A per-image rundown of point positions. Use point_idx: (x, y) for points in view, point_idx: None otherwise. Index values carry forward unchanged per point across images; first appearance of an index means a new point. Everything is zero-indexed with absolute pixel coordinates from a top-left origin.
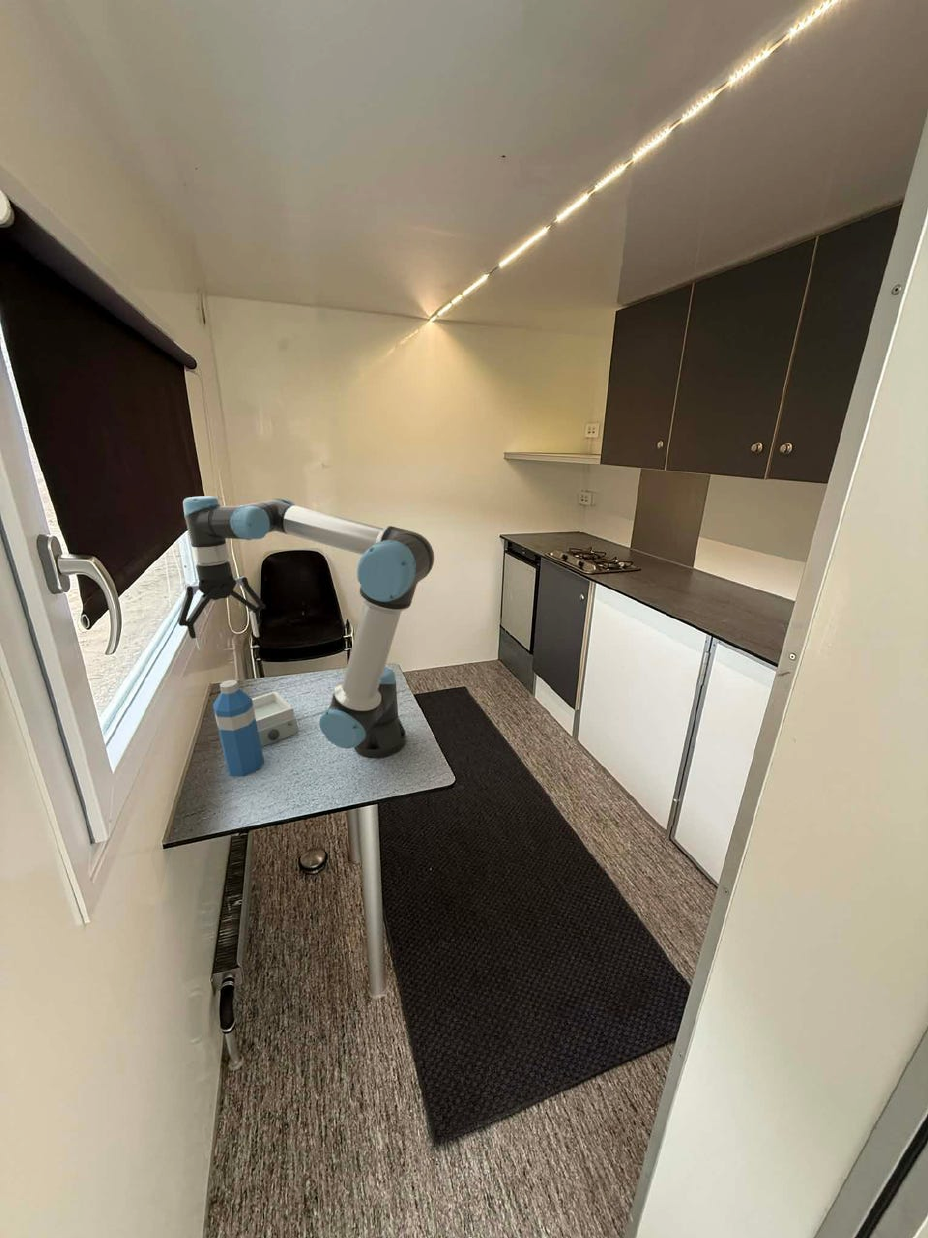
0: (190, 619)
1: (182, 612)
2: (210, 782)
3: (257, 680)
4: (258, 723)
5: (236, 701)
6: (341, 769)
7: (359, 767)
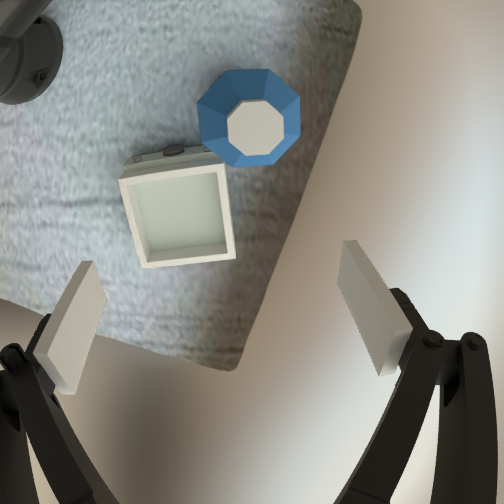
0: (438, 368)
1: (493, 402)
2: (302, 90)
3: (175, 355)
4: (194, 165)
5: (244, 82)
6: (99, 7)
7: (75, 2)
